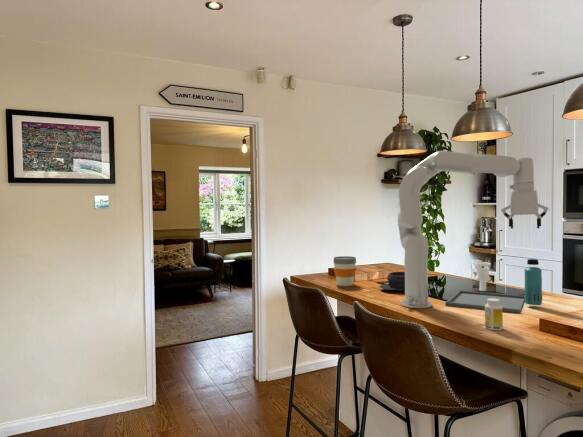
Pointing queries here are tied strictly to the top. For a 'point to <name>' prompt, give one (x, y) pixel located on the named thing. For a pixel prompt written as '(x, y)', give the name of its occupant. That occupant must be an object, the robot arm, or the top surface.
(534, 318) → the top surface
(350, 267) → the reusable coffee cup
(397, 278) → the cup and saucer
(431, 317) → the top surface
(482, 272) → the white tall piece
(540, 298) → the beverage bottle
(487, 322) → the supplement bottle
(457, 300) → the grey square tray
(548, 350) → the top surface
